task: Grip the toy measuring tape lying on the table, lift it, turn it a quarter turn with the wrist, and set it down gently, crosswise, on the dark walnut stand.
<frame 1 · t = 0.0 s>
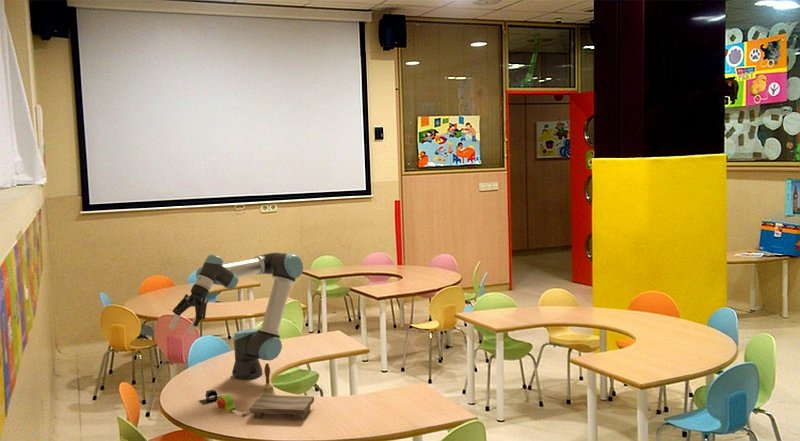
hand: (180, 330, 314), 36 cm above the table, tool tilted 35°, fingers open, 13 cm apart
black arched bracket: (211, 401, 329), on the table
walnut stand: (282, 413, 310), on the table
toy measuring tape: (231, 411, 315), on the table
hand bell: (268, 397, 331), on the table
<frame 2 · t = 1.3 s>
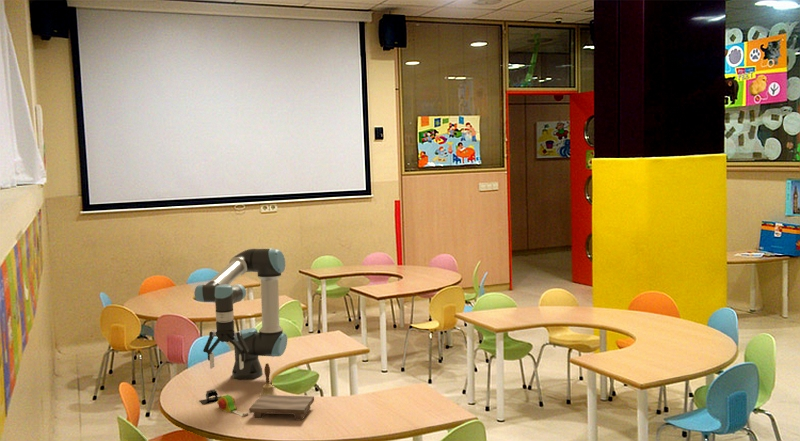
hand: (226, 368, 313), 19 cm above the table, tool pointing down, fingers open, 13 cm apart
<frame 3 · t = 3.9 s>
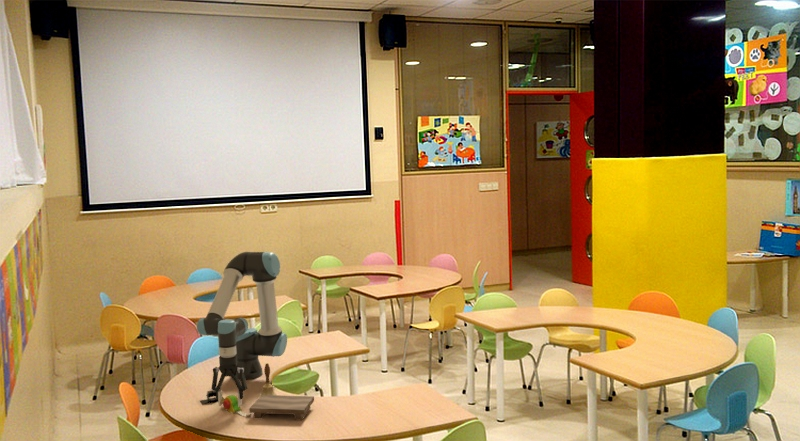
hand: (230, 405, 314), 2 cm above the table, tool pointing down, fingers closed on toy measuring tape, 8 cm apart
toy measuring tape: (236, 412, 313), on the table, touching gripper
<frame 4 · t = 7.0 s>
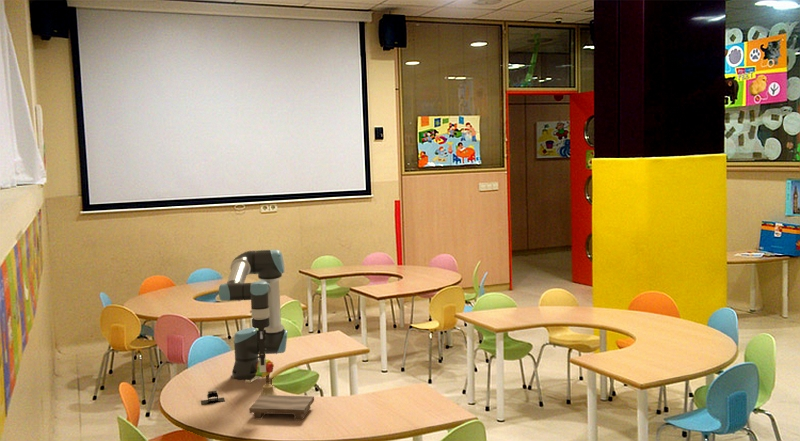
hand: (262, 368, 309), 20 cm above the table, tool pointing down, fingers closed on toy measuring tape, 8 cm apart
toy measuring tape: (260, 377, 306), point 17 cm above the table, touching gripper
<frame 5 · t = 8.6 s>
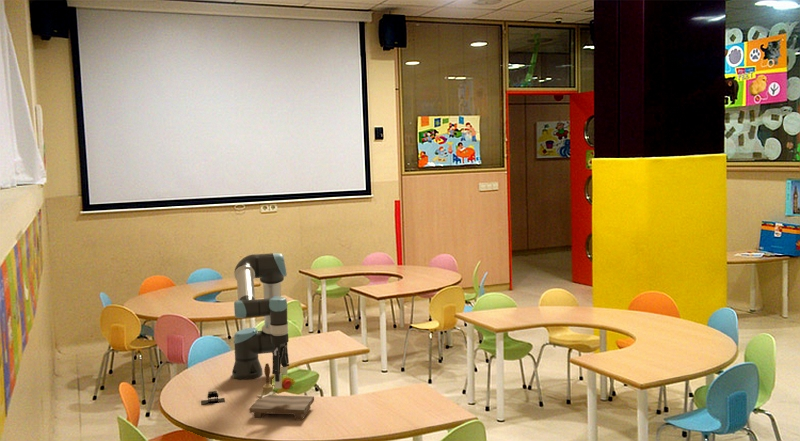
hand: (281, 384, 309), 13 cm above the table, tool pointing down, fingers closed on toy measuring tape, 8 cm apart
toy measuring tape: (276, 393, 306), point 10 cm above the table, touching gripper
when the fingers open (9 cm above the table, at t = 10.0 s): toy measuring tape drops 1 cm, resting on walnut stand.
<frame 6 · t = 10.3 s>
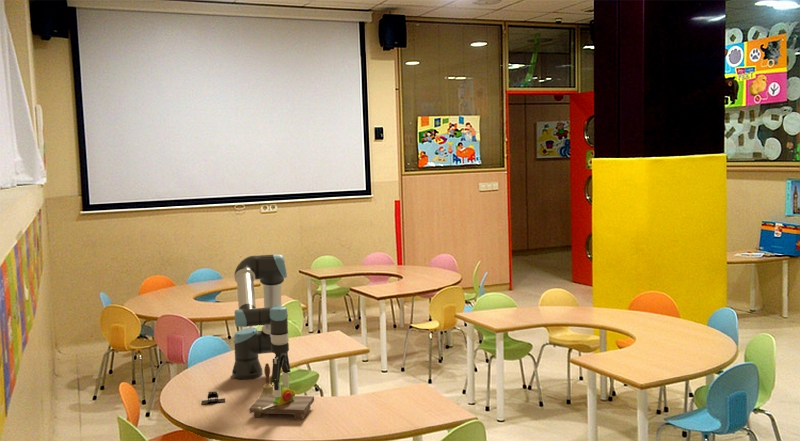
hand: (281, 391, 309), 10 cm above the table, tool pointing down, fingers open, 11 cm apart
toy measuring tape: (277, 405, 307), point 5 cm above the table, touching walnut stand
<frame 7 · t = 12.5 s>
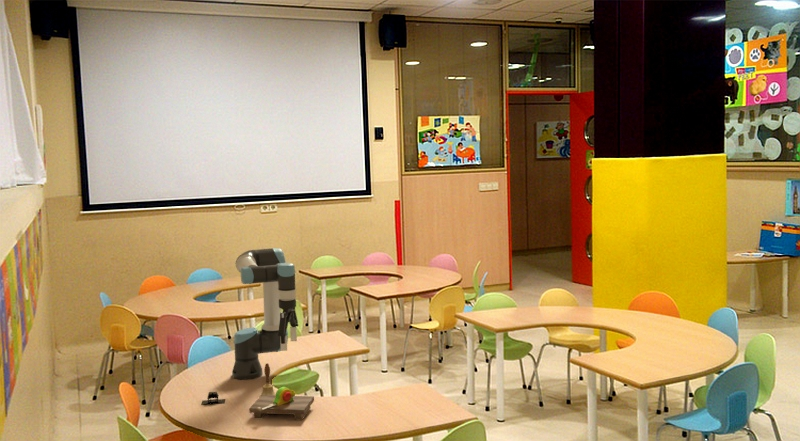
hand: (288, 345, 315), 28 cm above the table, tool pointing down, fingers open, 13 cm apart
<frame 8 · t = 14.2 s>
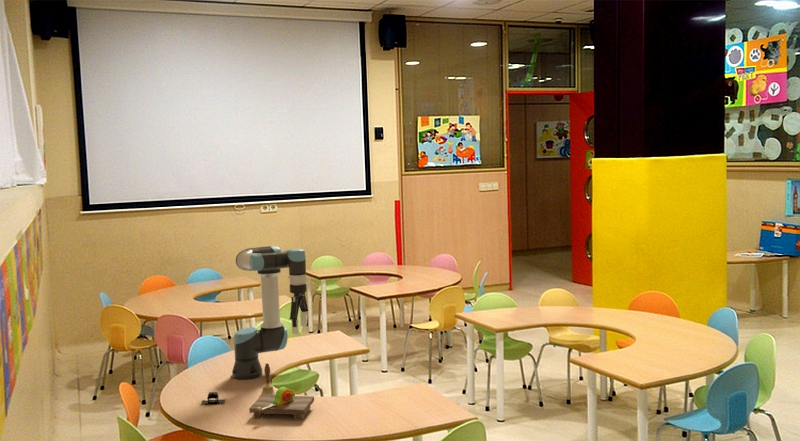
hand: (299, 329, 323), 33 cm above the table, tool pointing down, fingers open, 13 cm apart
at the end: toy measuring tape inside the target area on the walnut stand (3.4 cm from its centre), point 4.8 cm above the walnut stand's base; toy measuring tape tilted 0°; the gripper is holding nothing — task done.
